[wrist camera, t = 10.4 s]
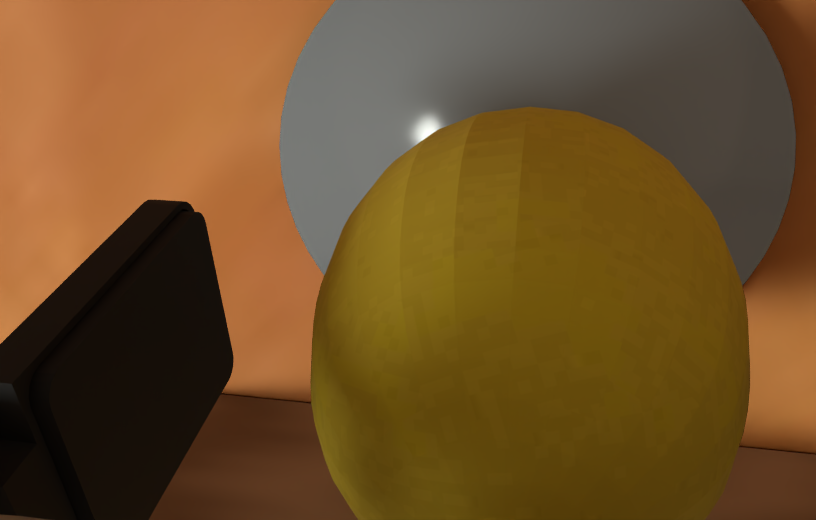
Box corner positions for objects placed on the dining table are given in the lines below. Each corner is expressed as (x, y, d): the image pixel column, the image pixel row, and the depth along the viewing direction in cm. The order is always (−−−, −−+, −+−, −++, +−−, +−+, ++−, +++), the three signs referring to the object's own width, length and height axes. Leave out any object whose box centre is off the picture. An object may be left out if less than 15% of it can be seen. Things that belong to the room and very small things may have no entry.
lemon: (625, -29, 11) (710, 264, 5) (739, 257, 13) (904, 727, 7) (325, 121, 13) (94, 464, 7) (467, 345, 16) (395, 764, 9)
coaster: (854, -98, 11) (867, -93, 10) (731, 379, 16) (735, 396, 15) (255, -90, 12) (245, -84, 12) (313, 343, 17) (307, 357, 17)
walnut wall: (887, 462, 16) (970, 641, 13) (870, 499, 17) (945, 679, 13) (186, 390, 19) (104, 523, 15) (195, 425, 19) (118, 559, 16)
